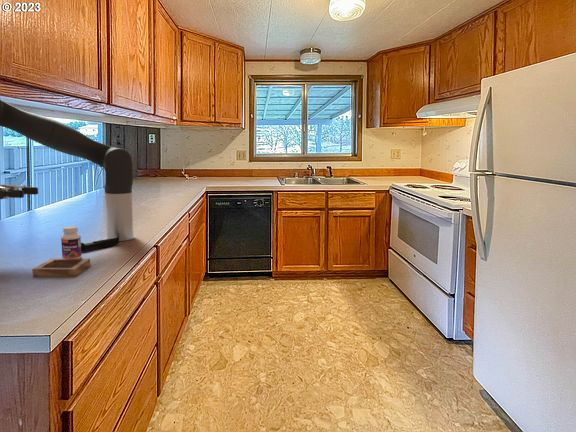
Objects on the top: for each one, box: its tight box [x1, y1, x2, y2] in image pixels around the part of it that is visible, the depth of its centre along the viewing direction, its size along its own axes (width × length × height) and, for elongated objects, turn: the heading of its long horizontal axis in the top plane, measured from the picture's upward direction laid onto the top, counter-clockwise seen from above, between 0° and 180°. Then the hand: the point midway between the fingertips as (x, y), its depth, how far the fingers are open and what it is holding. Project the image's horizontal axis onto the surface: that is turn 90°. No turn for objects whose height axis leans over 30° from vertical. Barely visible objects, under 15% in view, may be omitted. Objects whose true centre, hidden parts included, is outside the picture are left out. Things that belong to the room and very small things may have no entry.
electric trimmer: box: [81, 238, 120, 254], centre depth 155 cm, size 4×16×3 cm, turn 144°
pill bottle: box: [60, 225, 82, 259], centre depth 141 cm, size 5×5×10 cm
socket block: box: [32, 258, 91, 277], centre depth 128 cm, size 11×11×2 cm
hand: (30, 192), depth 137 cm, fingers open, 8 cm apart
